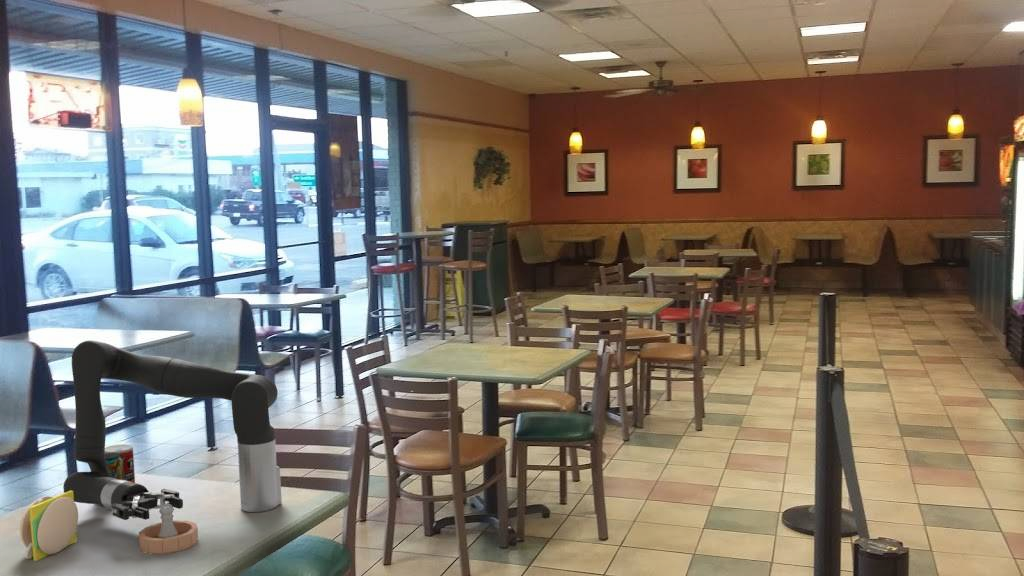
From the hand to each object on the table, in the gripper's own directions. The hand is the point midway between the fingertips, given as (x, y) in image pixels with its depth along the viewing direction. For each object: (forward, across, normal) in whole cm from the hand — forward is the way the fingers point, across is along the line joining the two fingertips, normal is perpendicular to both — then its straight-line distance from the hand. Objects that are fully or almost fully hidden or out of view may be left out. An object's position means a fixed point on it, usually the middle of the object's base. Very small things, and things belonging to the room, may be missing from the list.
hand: (164, 509), depth 210 cm
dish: (+1, 0, +8) cm, 8 cm away
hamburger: (-19, -17, +8) cm, 27 cm away
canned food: (-49, +18, +8) cm, 53 cm away
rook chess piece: (+1, 0, +7) cm, 7 cm away
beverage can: (-40, +10, +8) cm, 42 cm away
